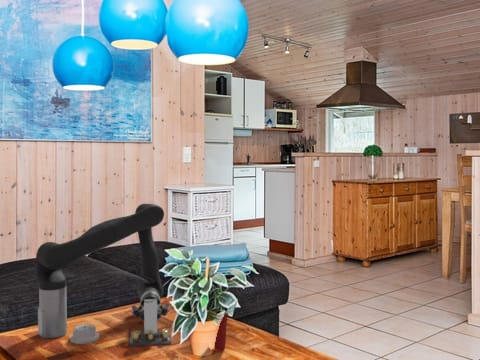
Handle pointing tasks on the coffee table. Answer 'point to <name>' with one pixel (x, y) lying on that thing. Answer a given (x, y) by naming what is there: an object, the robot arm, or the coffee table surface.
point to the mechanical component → (84, 334)
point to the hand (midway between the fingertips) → (150, 317)
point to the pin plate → (145, 339)
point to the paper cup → (221, 334)
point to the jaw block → (150, 316)
